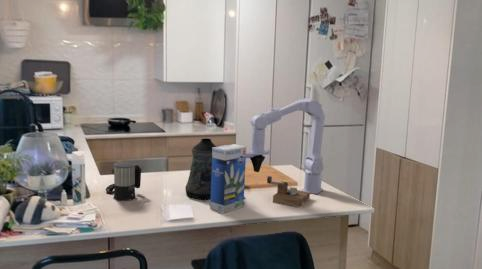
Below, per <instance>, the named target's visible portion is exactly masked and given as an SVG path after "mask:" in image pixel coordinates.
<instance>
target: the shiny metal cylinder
mask: <svg viewBox="0 0 482 269" xmlns="http://www.w3.org/2000/svg"><path fill="white" fill-rule="evenodd" d="M288 189H289V194H288V195H291V196H296V195H297V190H298V188H296V187H292V186H290V187H289V188H288Z"/></svg>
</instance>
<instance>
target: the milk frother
mask: <svg viewBox="0 0 482 269" xmlns="http://www.w3.org/2000/svg"><path fill="white" fill-rule="evenodd" d="M141 177H142V169H141V166H140V165H138V164H136V163H135V162H132V161H119V162H115V163H114V164H113V179H114V181H113V182H114V183H112V184H109V185H108V186H107V187H106V188H105V192H106V193H108V194H113V200H116V201H120V202H121V201H122V202H123V201H124V202H125V201H132V200H135V199H136V197H137V195H136V189H140V188H141V180H142V179H141Z"/></svg>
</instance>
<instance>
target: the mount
mask: <svg viewBox="0 0 482 269" xmlns="http://www.w3.org/2000/svg"><path fill="white" fill-rule="evenodd" d="M280 182H282V183H284V184H281V183H278V185H277V192H276V193H275V194H273V195H272V203H276V204H280V203H281V204H280V205H285V204H287V206H290V205H292V206H291V207H296V206H297V207H296V208H300V207H301V206H302V205H304V204H305V203H306V202H307V201H308V200H310V198H311V196H310V195H311V193H310V192H305V191H301V190H300V189H299V190H298V189H297V195H296V196H291V195H288V194H289V188H288V187H289V186H288V185H289V182H288V181H283V180H282V181H281V180H280ZM303 203H304V204H303ZM299 206H300V207H299Z"/></svg>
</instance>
